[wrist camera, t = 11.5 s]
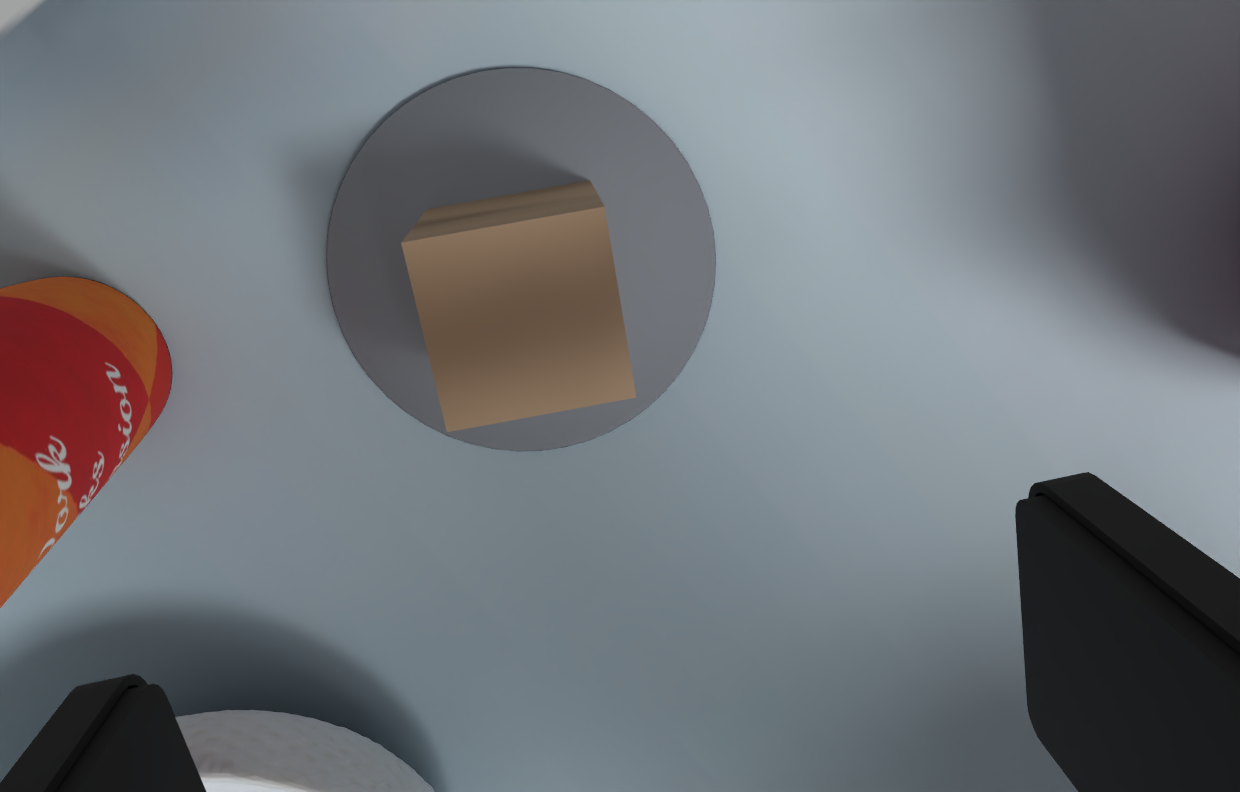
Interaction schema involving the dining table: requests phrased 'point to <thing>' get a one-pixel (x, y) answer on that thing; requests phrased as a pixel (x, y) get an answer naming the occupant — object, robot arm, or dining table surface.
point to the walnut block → (519, 305)
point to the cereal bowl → (290, 755)
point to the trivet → (507, 164)
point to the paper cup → (68, 406)
